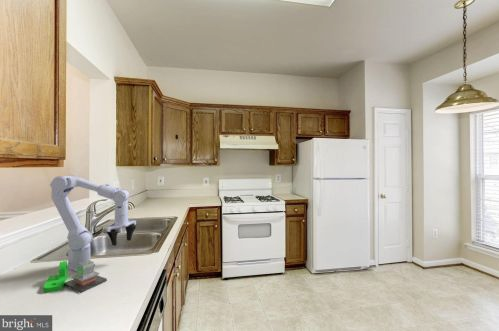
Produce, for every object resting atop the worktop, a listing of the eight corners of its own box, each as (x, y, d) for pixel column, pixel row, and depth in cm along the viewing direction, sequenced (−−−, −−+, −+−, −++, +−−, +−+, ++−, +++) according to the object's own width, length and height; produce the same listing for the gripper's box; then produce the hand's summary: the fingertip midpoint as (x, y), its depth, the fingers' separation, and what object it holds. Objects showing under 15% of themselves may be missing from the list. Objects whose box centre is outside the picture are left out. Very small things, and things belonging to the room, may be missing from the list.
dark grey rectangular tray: (63, 285, 95) (63, 276, 95) (89, 274, 104) (89, 267, 104) (80, 292, 90) (80, 283, 90) (106, 281, 99) (106, 272, 99)
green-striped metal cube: (77, 276, 96) (77, 263, 96) (88, 271, 99) (87, 260, 99) (83, 278, 94) (83, 265, 94) (93, 273, 98) (93, 261, 97)
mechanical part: (49, 280, 99) (49, 261, 99) (67, 277, 102) (67, 259, 102) (41, 294, 89) (41, 273, 89) (61, 290, 92) (61, 270, 92)
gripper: (112, 219, 106) (112, 248, 107) (140, 212, 119) (140, 239, 120) (102, 217, 110) (102, 246, 110) (130, 211, 123) (131, 237, 123)
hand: (121, 242), depth 115 cm, fingers open, 7 cm apart
